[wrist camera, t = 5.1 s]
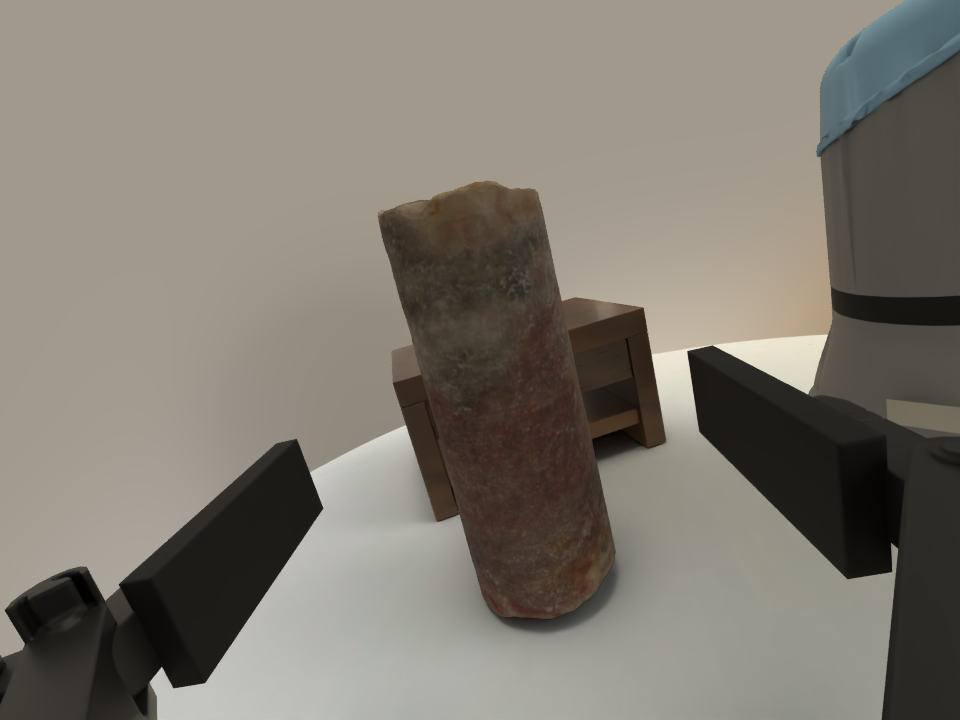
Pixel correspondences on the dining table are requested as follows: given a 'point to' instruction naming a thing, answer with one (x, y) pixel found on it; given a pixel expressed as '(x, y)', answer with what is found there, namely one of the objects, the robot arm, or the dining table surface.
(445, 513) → the shelf
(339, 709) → the dining table surface
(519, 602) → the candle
